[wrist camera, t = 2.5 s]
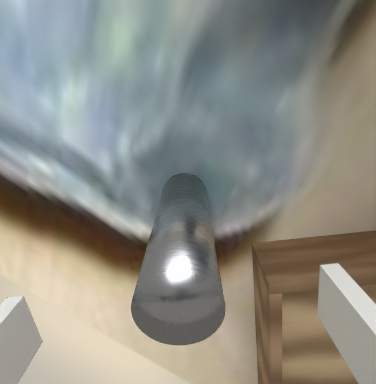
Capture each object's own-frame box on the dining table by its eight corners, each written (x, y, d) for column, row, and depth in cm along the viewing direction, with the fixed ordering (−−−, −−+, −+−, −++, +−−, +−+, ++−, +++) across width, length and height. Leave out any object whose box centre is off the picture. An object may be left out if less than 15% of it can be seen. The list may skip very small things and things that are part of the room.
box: (252, 243, 26) (269, 284, 20) (483, 219, 25) (569, 255, 19) (258, 391, 33) (272, 451, 28) (437, 378, 32) (488, 437, 27)
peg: (159, 176, 24) (122, 276, 11) (203, 171, 23) (221, 266, 10) (166, 215, 25) (140, 348, 12) (208, 211, 25) (228, 341, 12)
